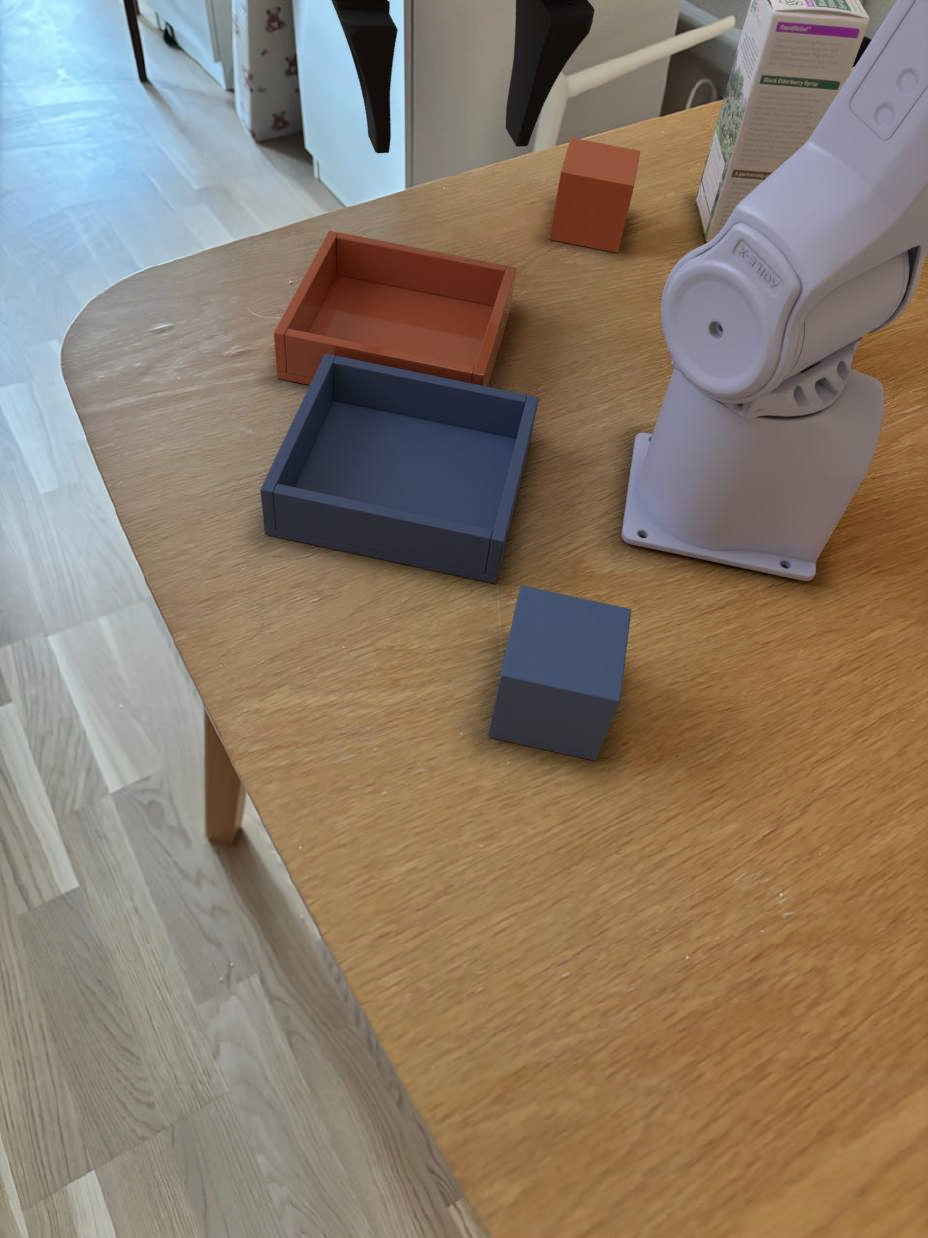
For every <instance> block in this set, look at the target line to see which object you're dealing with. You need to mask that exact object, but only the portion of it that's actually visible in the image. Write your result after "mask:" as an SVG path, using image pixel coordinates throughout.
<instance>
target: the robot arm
mask: <svg viewBox="0 0 928 1238" xmlns="http://www.w3.org/2000/svg"><path fill="white" fill-rule="evenodd" d="M330 1H331V3H332V5H333V8H334V11H335V13H336V15H337V18H338V21H339V23H340V26H341V28H342V31H343V35H344V36H345V37H344V38H345V39H346V42H347V46H348V48H349V51H350V54H351V57H352V60H353V64H354V67H355V71H356V74H357V78H358V82H359V86H360V90H361V95H362V100H363V105H364V112H365V117H366V125H367V136H368V138H369V141H370V144H371V145H372V149H373V150H374V153H375V154H389V153H390V148H391V139H392V130H391V128H392V126H391V125H392V123H391V121H392V120H391V87H392V86H391V85H392V74H393V63H394V56H395V51H396V50H395V48H396V43H397V38H398V37H397V36H398V31H399V29H398V27H397V26H396V23H395V22H394V20H393V18H392V16H391V13H390V12H391V11H390V10H391V2H390V0H330ZM594 16H595V8H594V6H593V5H592V4H591V3H590V1H589V0H515V25H514V27H515V28H514V45H513V60H512V68H511V69H512V70H511V73H510V74H511V75H510V80H509V81H510V82H509V88H508V95H507V101H506V108H505V109H506V110H505V111H506V112H505V131H507V134H508V135H509V137H510V138H511V140H512V142H513V143H514V145H515V146H516V147H517V148H518V147H520V148H521V147H528V146H529V144H530V141H531V137H532V135H533V132H534V130H535V127H536V125H537V121H538V119H539V117H540V114H541V112H542V110H543V108H544V105H545V103H546V100H547V99H548V97H549V95H550V92H551V91H552V88H553V86H554V85H555V83H556V81H557V79H558V77H559V75H560V74H561V72H562V71H563V70H564V67H565V66H566V65H567V63H568V61H569V60H570V58H571V57H572V56H573V54H574V53H575V51H576V50H577V49H578V47H579V46H580V45H581V44H582V42H583V41H584V40H585V39H586V38H587V36H588V35H590V32H591V29H592V25H593V22H594ZM927 256H928V0H896V1H895V2H894V4H893V6H892V8H891V9H890V10H889V12H888V13H887V15H886V16H885V19H884V20H883V22H882V23H881V24H880V26H879V28H878V30H876V32H875V34H874V36H873V37H872V38H871V41H870V42H869V44H868V45H867V47H866V48H865V50H864V52H863V53H862V54H861V56H860V58H859V59H858V61H857V62H856V64H855V66H853V68H852V69H851V72H850V75H849V77H848V78H847V80H846V81H845V83H844V85H843V86H842V88H841V89H840V91H839V93H838V94H837V96H836V97H835V99H834V100H833V102H832V104H831V105H830V107H829V108H828V110H827V111H826V113H825V115H824V116H823V118H822V119H821V121H820V122H819V124H818V126H817V127H816V129H815V130H814V132H813V134H812V135H811V137H810V138H809V140H808V141H807V142H806V143H805V144H804V145H803V146H802V147H801V148H800V149H799V150H798V151H796V152H795V153H794V154H793V155H792V156H791V157H790V158H789V159H788V160H786V161H785V162H784V163H783V164H782V165H781V166H780V167H779V168H777V169H776V170H775V171H774V172H773V173H772V174H771V175H769V176H768V177H767V178H766V179H765V180H764V181H763V182H762V183H760V184H759V185H758V186H757V187H756V188H755V189H754V190H753V191H752V192H751V193H749V194H748V195H747V196H746V197H745V198H744V199H743V200H742V201H741V202H740V203H739V204H738V205H737V206H736V207H735V209H734V210H733V212H732V214H731V215H730V217H729V219H728V220H727V222H726V224H725V225H724V227H723V228H722V229H721V231H720V232H719V233H718V234H717V235H716V236H715V237H714V238H713V239H712V240H710V241H709V242H708V243H707V242H706V243H704V244H701V245H700V246H698V247H696V248H694V249H692V250H690V251H689V252H686V253H685V255H683V256H682V257H681V258H680V259H679V260H678V261H677V263H675V265H674V266H673V267H672V269H671V271H670V272H669V274H668V276H667V278H666V281H665V284H664V287H663V291H662V296H661V300H660V303H661V304H660V320H661V328H662V334H663V338H664V342H665V345H666V347H667V350H668V353H669V354H670V356H671V362H670V364H671V366H672V367H673V369H672V373H671V376H670V378H669V382H668V384H667V389H666V391H665V394H664V397H663V401H662V403H661V407H660V410H659V413H658V416H657V419H656V422H655V426H654V428H653V430H652V431H653V432H652V433H649V432H639V433H637V434H636V435H635V436H634V441H633V448H632V455H631V461H630V469H629V470H630V471H629V474H628V475H629V476H628V483H627V491H626V497H625V505H624V512H623V513H624V514H623V519H622V526H621V534H620V537H621V539H622V541H623V542H625V544H629V545H632V546H637V547H641V548H645V549H646V548H647V549H650V550H651V549H652V550H656V551H661V552H665V553H670V554H673V555H680V556H684V557H690V558H693V559H698V560H703V561H708V562H713V563H717V564H721V565H726V566H732V567H736V568H741V569H745V570H750V571H755V572H758V573H759V572H760V573H765V574H770V575H774V576H778V577H782V578H783V577H784V578H788V579H793V580H796V581H797V580H798V581H801V582H810V581H812V580H813V579H814V577H815V575H816V573H817V560H818V559H819V558H820V556H821V554H822V552H823V550H824V549H825V547H826V546H827V544H828V542H829V540H830V539H831V536H832V535H833V533H834V532H835V530H836V528H837V526H838V524H839V523H840V521H841V520H842V518H843V516H844V514H845V512H846V510H847V509H848V507H849V505H850V503H851V502H852V500H853V498H854V496H855V495H856V493H857V491H858V489H859V488H860V486H861V484H862V483H863V481H864V479H865V476H866V474H867V473H868V470H869V468H870V465H871V463H872V460H873V458H874V454H875V452H876V449H877V445H878V443H879V439H880V436H881V431H882V427H883V421H884V412H885V391H884V386H883V384H882V382H881V380H880V379H878V378H877V377H875V376H872V375H869V374H866V373H864V372H861V371H858V370H856V369H854V368H852V365H853V360H854V357H855V354H856V352H857V350H858V348H859V346H860V344H861V342H862V340H863V336H866V335H870V334H875V333H876V332H879V331H880V330H882V329H884V328H885V327H887V326H889V325H891V324H892V323H893V322H894V321H896V320H897V319H899V318H900V316H902V314H903V313H904V312H905V311H906V310H907V308H908V306H909V305H910V303H911V302H912V300H913V299H914V296H915V294H916V292H917V290H918V287H919V283H920V280H921V276H922V271H923V267H924V264H925V261H926V259H927Z"/></svg>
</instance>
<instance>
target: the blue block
mask: <svg viewBox="0 0 928 1238" xmlns="http://www.w3.org/2000/svg"><path fill="white" fill-rule="evenodd" d="M517 593H518V594H517V597H516V602H515V607H514V612H513V615H512V621H511V624H510V625H511V626H510V630H509V634H508V639H507V643H506V648H505V653H504V657H503V662H502V666H501V672H500V676H499V680H498V685H497V690H496V695H495V699H494V703H493V708H492V713H491V717H490V722H489V726H488V731H487V737H488V738H492V739H496V740H501V741H504V742H509V743H513V744H519V745H522V746H527V747H532V748H536V749H540V750H545V751H549V752H554V753H558V754H563V755H568V756H573V757H576V758H581V759H586V760H590V761H597V760H598V757H599V755H600V753H601V750H602V747H603V746H604V743H605V740H606V738H607V735H608V733H609V730H610V727H611V725H612V723H613V720H614V717H615V715H616V713H617V710H618V708H619V705H620V703H621V700H622V689H623V683H624V675H625V667H626V665H625V664H626V659H627V658H626V657H627V649H628V641H629V634H630V625H631V616H632V609H631V608H629V607H624V606H619V605H615V604H610V603H604V602H600V601H596V600H591V599H586V598H582V597H578V596H573V595H567V594H565V593H560V592H554V591H550V590H545V589H540V588H535V587H531V586H527V585H520V586H519V588H518V592H517Z"/></svg>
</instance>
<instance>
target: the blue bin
mask: <svg viewBox="0 0 928 1238" xmlns="http://www.w3.org/2000/svg"><path fill="white" fill-rule="evenodd" d="M539 400H540V399H539V397H538V396H533V395H527V394H523V393H520V392H515V391H510V390H505V389H500V388H495V387H491V386H488V387H486V386H481V385H476V384H471V383H466V382H461V381H457V380H452V379H447V378H442V377H437V376H432V375H427V374H422V373H418V372H413V371H408V370H403V369H398V368H393V367H388V366H383V365H379V364H374V363H369V362H364V361H359V360H354V359H349V358H344V357H340V356H335V355H330V354H325V355H324V357H323V359H322V361H321V363H320V365H319V367H318V369H317V371H316V373H315V376H314V378H313V380H312V382H311V384H310V385H308V388H307V390H306V393H305V395H304V396H303V398H302V401H301V403H300V405H299V407H298V409H297V412H296V413H295V415H294V418H293V420H292V422H291V423H290V426H289V428H288V430H287V431H286V434H285V436H284V438H283V440H282V443H281V445H280V447H279V448H278V452H277V453H276V455H275V458H274V459H273V462H272V464H271V466H270V468H269V470H268V472H267V474H266V477H265V479H264V481H263V483H262V485H261V487H260V489H259V490H260V491H259V492H260V499H261V500H260V501H261V509H262V510H261V511H262V520H263V528H264V529H263V530H264V535H267V536H272V537H276V538H281V539H287V540H290V541H295V542H300V543H303V544H304V543H305V544H308V545H309V544H310V545H313V546H318V547H323V548H328V549H333V550H336V551H342V552H347V553H352V554H356V555H360V556H364V557H369V558H375V559H378V560H383V561H388V562H391V563H392V562H393V563H396V564H397V563H398V564H402V565H407V566H412V567H416V568H419V569H425V570H430V571H435V572H439V573H444V574H448V575H453V576H457V577H462V578H465V579H466V578H467V579H472V580H476V581H481V582H486V583H490V584H494V585H495V584H497V583H498V580H499V575H500V572H501V567H502V562H503V558H504V554H505V550H506V545H507V542H508V537H509V533H510V529H511V525H512V521H513V516H514V512H515V509H516V503H517V499H518V495H519V493H520V492H519V491H520V488H521V483H522V479H523V474H524V470H525V466H526V461H527V457H528V454H529V449H530V445H531V441H532V436H533V431H534V425H535V420H536V415H537V410H538V405H539Z"/></svg>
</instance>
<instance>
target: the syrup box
mask: <svg viewBox="0 0 928 1238" xmlns="http://www.w3.org/2000/svg"><path fill="white" fill-rule="evenodd" d="M870 20H871V19H870V16H869V14H868V13H867V11H866V10H865V8H864V6H863V3H861V0H750V3H749V6H748V10H747V13H746V17H745V20H744V23H743V27H742V31H741V34H740V38H739V42H738V44H737V49H736V51H735V56H734V59H733V63H732V67H731V70H730V74H729V78H728V81H727V85H726V88H725V92H724V95H723V99H722V102H721V106H720V109H719V113H718V117H717V120H716V123H715V127H714V129H713V134H712V138H711V141H710V145H709V149H708V151H707V152H708V153H707V155H706V159H705V163H704V166H703V170H702V173H701V177H700V180H699V185H698V187H697V191H696V194H695V198H694V200H695V204H696V207H697V208H696V209H697V212H698V217H699V220H700V224H701V229H702V233H703V237H704V241H705V242H706V243H708V242H709V241H710V240H712V239H713V238H714V237H715V236H716V235H717V234H718V233H719V232H720V231H721V229H722V228H723V227H724V225H725V224H726V222H727V220H728V219H729V217H730V215H731V214H732V212H733V210H734V209H735V207H736V206H737V205H738V204H739V203H740V202H741V201H742V200H743V199H744V198H745V197H746V196H747V195H748V194H749V193H751V192H752V191H753V190H754V189H755V188H756V187H757V186H758V185H759V184H760V183H762V182H763V181H764V180H765V179H766V178H767V177H768V176H769V175H771V174H772V173H773V172H774V171H775V170H776V169H777V168H779V167H780V166H781V165H782V164H783V163H784V162H785V161H786V160H788V159H789V158H790V157H791V156H792V155H793V154H794V153H795V152H796V151H798V150H799V149H800V148H801V147H802V146H803V145H804V144H805V143H806V142H807V141H808V140H809V138H810V137H811V135H812V134H813V132H814V130H815V129H816V127H817V126H818V124H819V122H820V121H821V119H822V118H823V116H824V115H825V113H826V111H827V110H828V108H829V107H830V105H831V104H832V102H833V100H834V99H835V97H836V96H837V94H838V93H839V91H840V89H841V88H842V86H843V85H844V83H845V81H846V80H847V78H848V77H849V75H850V74H851V72H852V70H853V68H854V64H855V61H856V58H857V55H858V53H859V50H860V47H861V45H862V42H863V39H864V38H865V34H866V32H867V30H868V26H869V23H870Z"/></svg>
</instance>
